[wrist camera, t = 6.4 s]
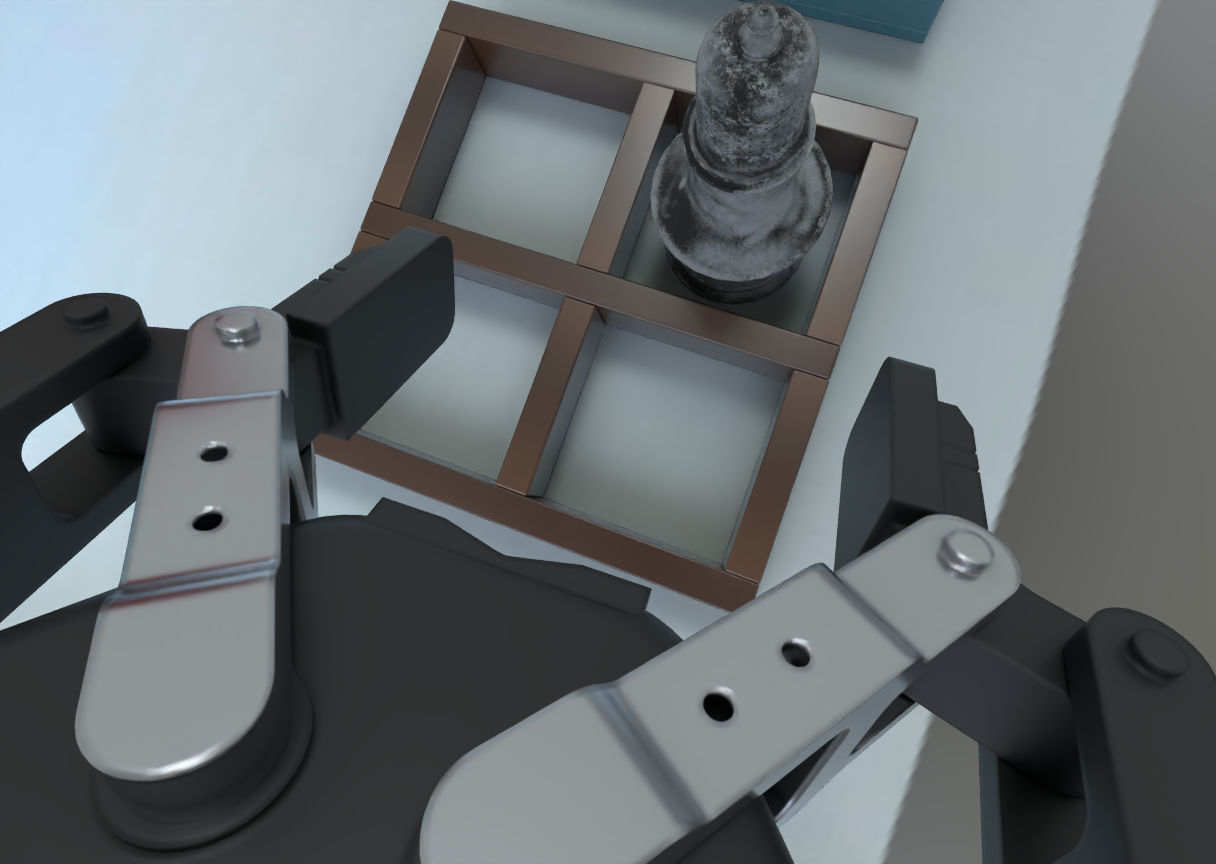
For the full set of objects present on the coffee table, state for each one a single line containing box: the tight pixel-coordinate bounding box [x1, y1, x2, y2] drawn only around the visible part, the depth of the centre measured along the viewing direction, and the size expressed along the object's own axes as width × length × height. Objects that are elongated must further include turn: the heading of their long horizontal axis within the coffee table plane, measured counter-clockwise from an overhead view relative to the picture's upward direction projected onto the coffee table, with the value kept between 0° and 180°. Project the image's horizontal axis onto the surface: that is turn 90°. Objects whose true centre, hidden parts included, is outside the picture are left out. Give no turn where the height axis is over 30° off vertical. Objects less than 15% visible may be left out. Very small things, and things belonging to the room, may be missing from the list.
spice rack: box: [312, 0, 918, 613], centre depth 25 cm, size 18×18×2 cm
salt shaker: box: [650, 1, 833, 304], centre depth 20 cm, size 6×6×12 cm
